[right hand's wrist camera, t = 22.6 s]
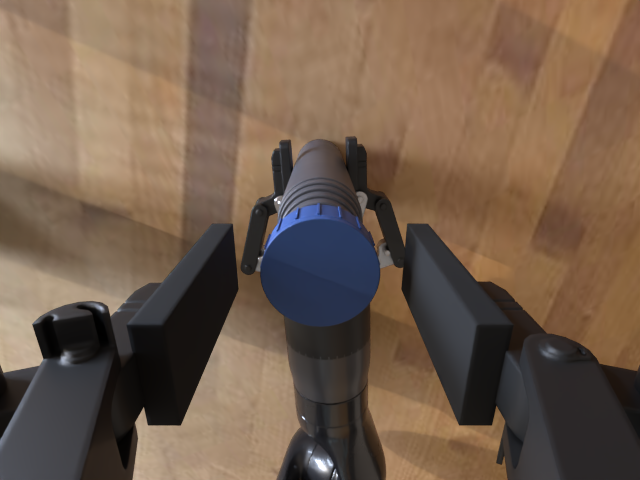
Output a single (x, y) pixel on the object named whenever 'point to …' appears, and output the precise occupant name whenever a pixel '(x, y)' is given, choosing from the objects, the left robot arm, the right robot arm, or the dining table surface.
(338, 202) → the bottle
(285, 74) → the dining table surface
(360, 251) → the cap
